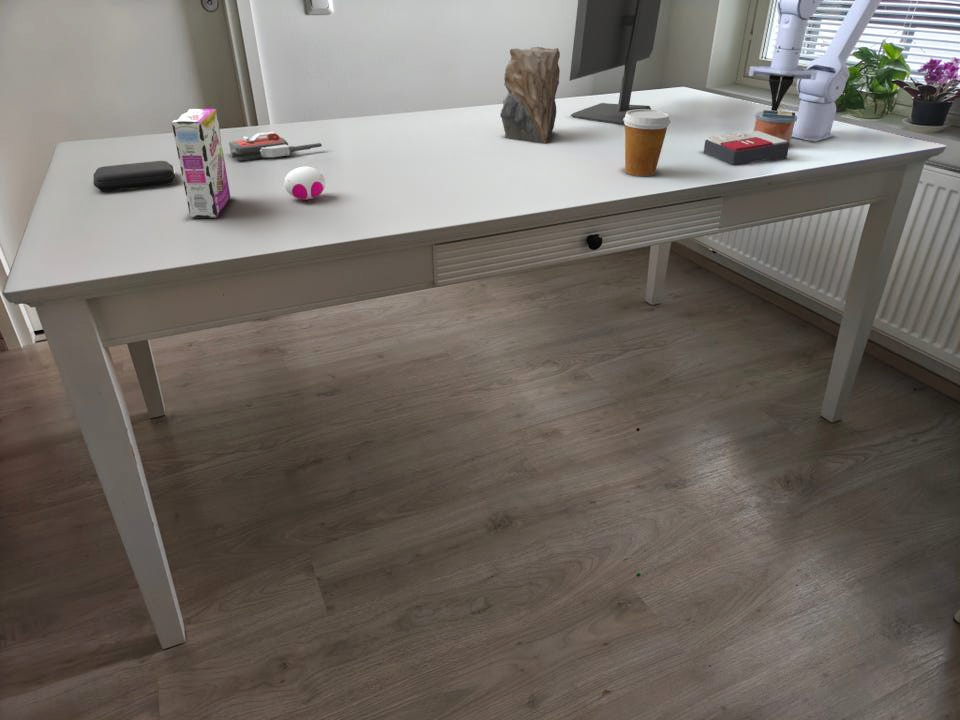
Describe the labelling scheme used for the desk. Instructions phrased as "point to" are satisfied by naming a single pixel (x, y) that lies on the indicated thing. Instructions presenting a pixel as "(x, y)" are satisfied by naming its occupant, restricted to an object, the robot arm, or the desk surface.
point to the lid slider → (783, 112)
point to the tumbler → (775, 124)
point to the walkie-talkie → (264, 147)
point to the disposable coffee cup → (644, 140)
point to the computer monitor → (613, 48)
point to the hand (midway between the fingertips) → (774, 110)
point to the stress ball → (305, 183)
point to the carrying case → (134, 175)
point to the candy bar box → (202, 162)
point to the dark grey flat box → (746, 147)
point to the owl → (531, 94)
